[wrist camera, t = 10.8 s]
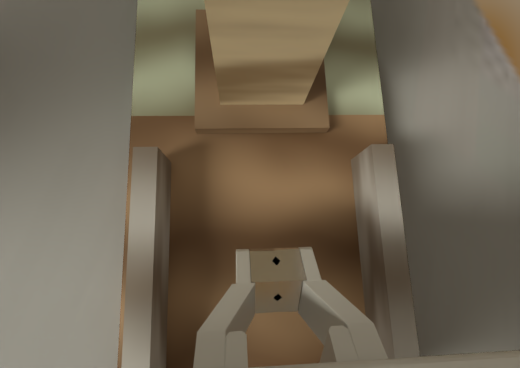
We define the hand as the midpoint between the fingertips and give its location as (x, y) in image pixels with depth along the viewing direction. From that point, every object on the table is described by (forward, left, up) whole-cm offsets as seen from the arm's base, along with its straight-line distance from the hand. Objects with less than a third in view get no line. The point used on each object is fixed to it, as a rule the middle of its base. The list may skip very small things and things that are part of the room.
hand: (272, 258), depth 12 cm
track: (0, 0, -7) cm, 7 cm away
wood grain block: (-10, +5, -5) cm, 12 cm away
